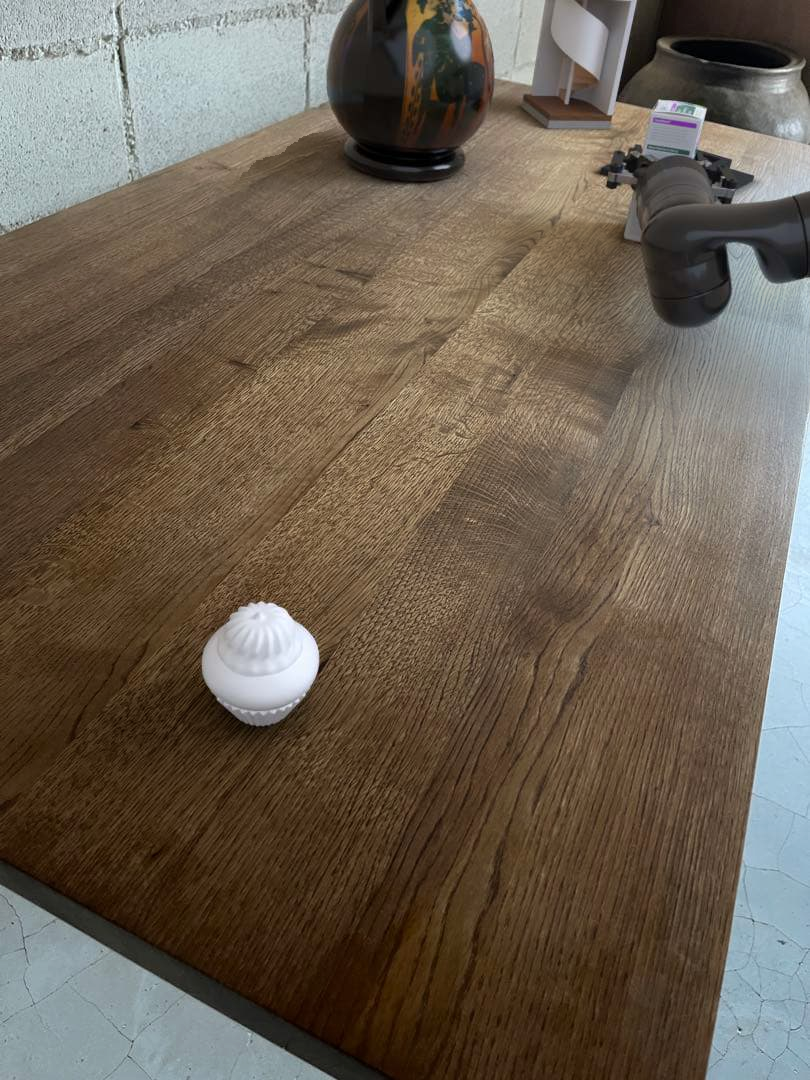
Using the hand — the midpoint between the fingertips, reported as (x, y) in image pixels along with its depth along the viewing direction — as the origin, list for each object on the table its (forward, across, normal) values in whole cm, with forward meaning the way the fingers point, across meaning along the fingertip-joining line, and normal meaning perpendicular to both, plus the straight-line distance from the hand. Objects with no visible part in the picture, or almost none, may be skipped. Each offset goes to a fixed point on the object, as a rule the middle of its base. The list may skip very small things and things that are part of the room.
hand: (665, 157), depth 107 cm
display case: (+46, +12, +9) cm, 48 cm away
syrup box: (-2, 0, +9) cm, 9 cm away
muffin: (-83, +24, +9) cm, 87 cm away
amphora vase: (+12, +32, +9) cm, 35 cm away
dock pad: (+22, -5, +8) cm, 25 cm away
